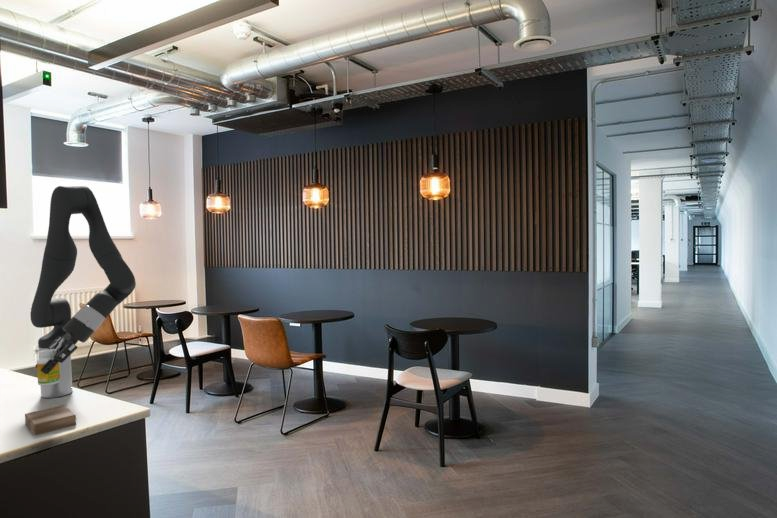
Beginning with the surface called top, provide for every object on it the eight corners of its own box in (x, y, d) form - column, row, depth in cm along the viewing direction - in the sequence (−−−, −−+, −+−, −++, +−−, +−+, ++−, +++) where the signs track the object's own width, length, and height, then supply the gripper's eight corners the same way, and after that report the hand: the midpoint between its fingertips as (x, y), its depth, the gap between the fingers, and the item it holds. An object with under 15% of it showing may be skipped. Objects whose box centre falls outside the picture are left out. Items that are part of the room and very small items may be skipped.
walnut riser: (25, 423, 150) (24, 413, 150) (64, 414, 157) (63, 405, 157) (35, 435, 142) (35, 424, 141) (76, 424, 149) (75, 414, 149)
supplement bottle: (49, 386, 145) (46, 353, 145) (33, 385, 147) (31, 352, 146) (64, 380, 151) (62, 348, 150) (49, 380, 152) (47, 348, 151)
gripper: (67, 313, 158) (23, 359, 150) (81, 318, 148) (35, 367, 140) (87, 327, 162) (45, 372, 154) (102, 333, 152) (58, 382, 144)
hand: (40, 370), depth 147 cm, fingers closed on supplement bottle, 5 cm apart
